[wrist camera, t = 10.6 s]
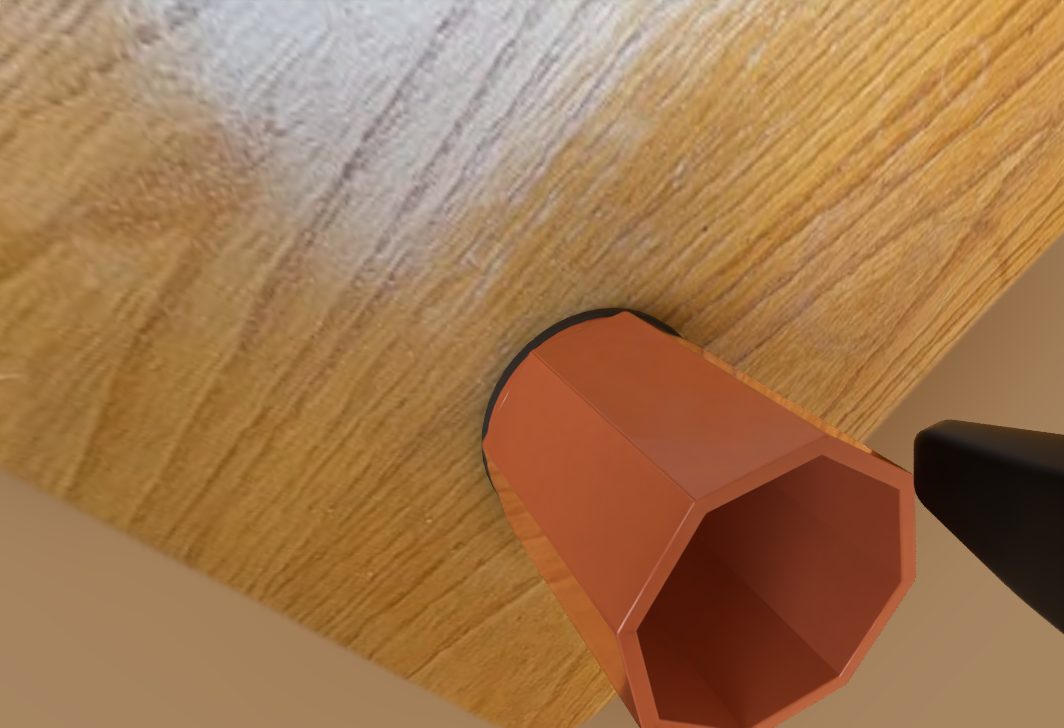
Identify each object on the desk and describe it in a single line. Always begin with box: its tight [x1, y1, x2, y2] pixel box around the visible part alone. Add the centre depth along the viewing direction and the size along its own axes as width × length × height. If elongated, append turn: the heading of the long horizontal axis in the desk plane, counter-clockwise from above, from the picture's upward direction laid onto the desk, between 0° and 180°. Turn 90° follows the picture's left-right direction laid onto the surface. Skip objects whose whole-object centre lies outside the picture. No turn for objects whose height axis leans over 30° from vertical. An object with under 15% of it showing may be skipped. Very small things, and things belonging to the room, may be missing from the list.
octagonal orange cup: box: [482, 311, 916, 728], centre depth 18 cm, size 7×7×8 cm
